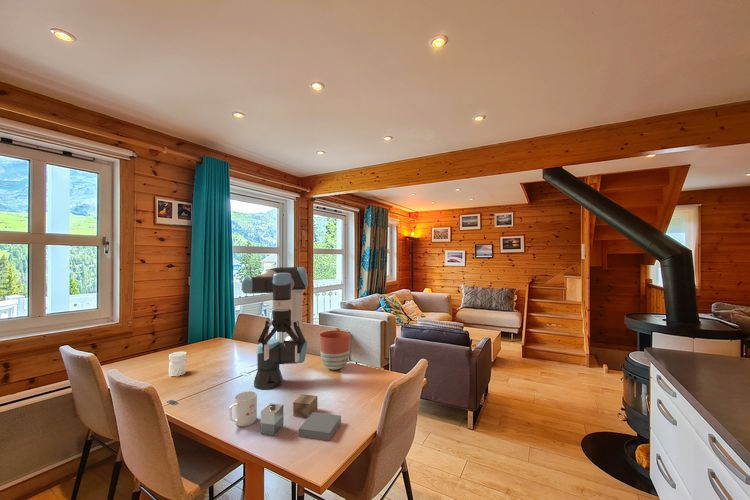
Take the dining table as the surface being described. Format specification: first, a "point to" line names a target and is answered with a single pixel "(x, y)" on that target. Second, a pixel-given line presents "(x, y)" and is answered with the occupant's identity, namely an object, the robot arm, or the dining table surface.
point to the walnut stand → (304, 405)
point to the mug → (244, 408)
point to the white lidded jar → (177, 364)
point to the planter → (334, 348)
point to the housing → (272, 419)
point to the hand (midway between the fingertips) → (281, 360)
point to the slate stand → (320, 426)
